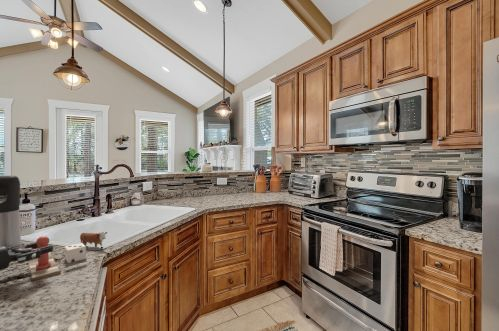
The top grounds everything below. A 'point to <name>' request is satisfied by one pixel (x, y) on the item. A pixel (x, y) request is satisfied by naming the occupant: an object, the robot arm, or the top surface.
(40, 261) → the pawn
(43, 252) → the robot arm
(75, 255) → the die
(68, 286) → the top surface
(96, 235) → the bull figurine
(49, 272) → the track board
